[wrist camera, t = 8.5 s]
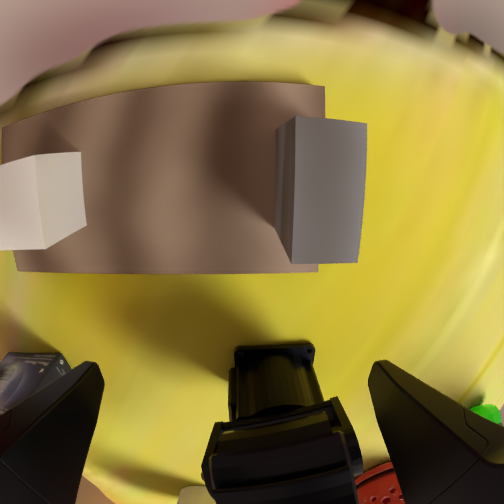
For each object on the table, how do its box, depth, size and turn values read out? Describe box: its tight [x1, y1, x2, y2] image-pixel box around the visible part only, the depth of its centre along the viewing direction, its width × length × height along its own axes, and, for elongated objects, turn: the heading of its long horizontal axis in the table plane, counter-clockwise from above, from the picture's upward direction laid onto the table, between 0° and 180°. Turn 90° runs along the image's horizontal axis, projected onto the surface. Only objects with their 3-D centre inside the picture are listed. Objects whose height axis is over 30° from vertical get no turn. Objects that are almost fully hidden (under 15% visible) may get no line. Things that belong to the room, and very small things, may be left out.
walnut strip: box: [2, 82, 367, 274], centre depth 14 cm, size 24×12×7 cm, turn 90°
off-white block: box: [0, 152, 87, 250], centre depth 13 cm, size 5×5×5 cm
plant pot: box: [355, 462, 405, 504], centre depth 28 cm, size 13×13×12 cm
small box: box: [0, 352, 71, 415], centre depth 18 cm, size 11×6×10 cm, turn 101°
